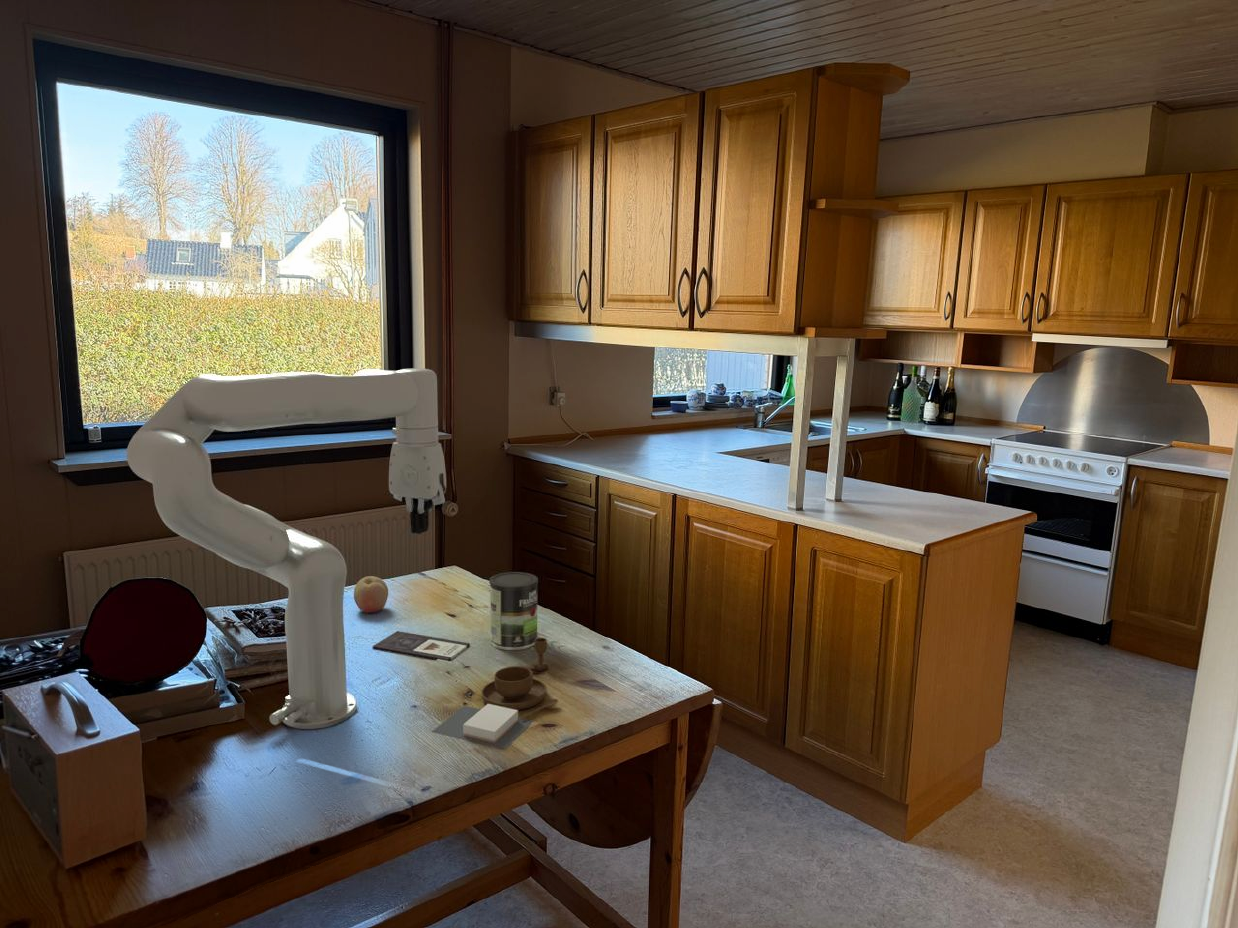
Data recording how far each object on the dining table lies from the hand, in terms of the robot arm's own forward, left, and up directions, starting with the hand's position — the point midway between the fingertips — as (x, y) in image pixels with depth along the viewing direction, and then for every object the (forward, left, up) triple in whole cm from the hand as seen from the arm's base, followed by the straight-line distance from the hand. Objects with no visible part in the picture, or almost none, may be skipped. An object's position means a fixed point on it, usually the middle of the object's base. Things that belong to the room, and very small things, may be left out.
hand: (419, 531), depth 156 cm
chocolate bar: (+11, +8, -30) cm, 33 cm away
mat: (-14, -21, -29) cm, 39 cm away
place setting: (+2, -23, -29) cm, 37 cm away
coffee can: (+22, -8, -29) cm, 38 cm away
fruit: (+24, +31, -29) cm, 49 cm away
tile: (-14, -20, -28) cm, 37 cm away
